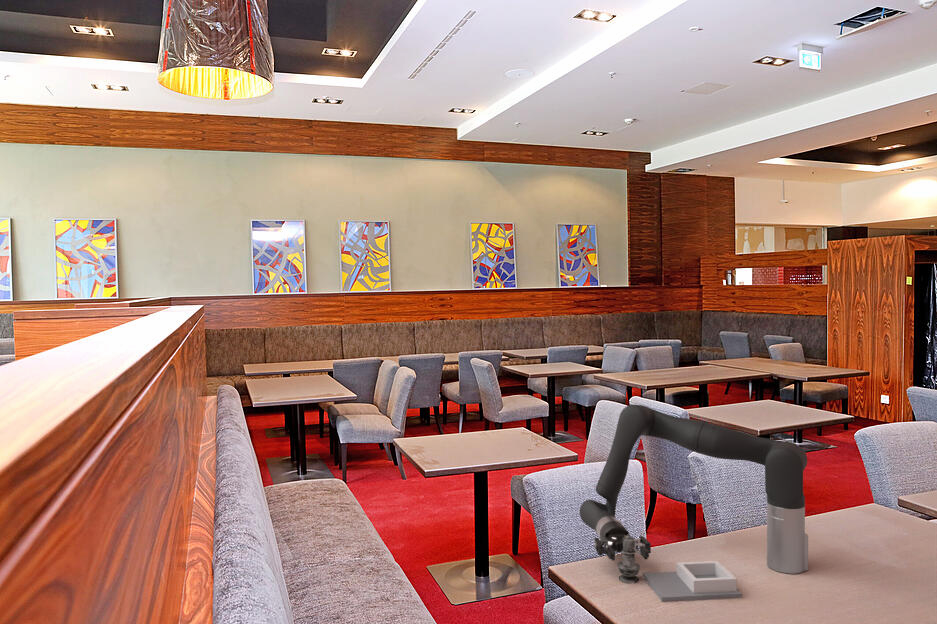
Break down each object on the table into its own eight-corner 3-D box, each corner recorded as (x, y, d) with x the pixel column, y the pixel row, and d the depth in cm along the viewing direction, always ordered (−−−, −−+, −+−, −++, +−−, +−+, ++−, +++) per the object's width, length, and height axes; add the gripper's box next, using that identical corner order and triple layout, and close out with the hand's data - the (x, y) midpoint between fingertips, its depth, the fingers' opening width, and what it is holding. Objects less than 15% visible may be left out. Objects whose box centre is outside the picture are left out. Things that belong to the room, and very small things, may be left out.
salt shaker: (641, 584, 172) (640, 538, 172) (617, 583, 174) (617, 537, 173) (639, 575, 178) (639, 530, 178) (617, 573, 179) (616, 528, 179)
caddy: (716, 573, 179) (716, 558, 178) (741, 597, 165) (741, 581, 165) (642, 576, 177) (642, 561, 177) (661, 601, 163) (661, 585, 163)
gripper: (587, 521, 190) (603, 543, 174) (637, 519, 191) (657, 541, 175) (587, 547, 190) (603, 572, 174) (637, 545, 191) (657, 569, 175)
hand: (630, 556), depth 174 cm, fingers open, 8 cm apart
